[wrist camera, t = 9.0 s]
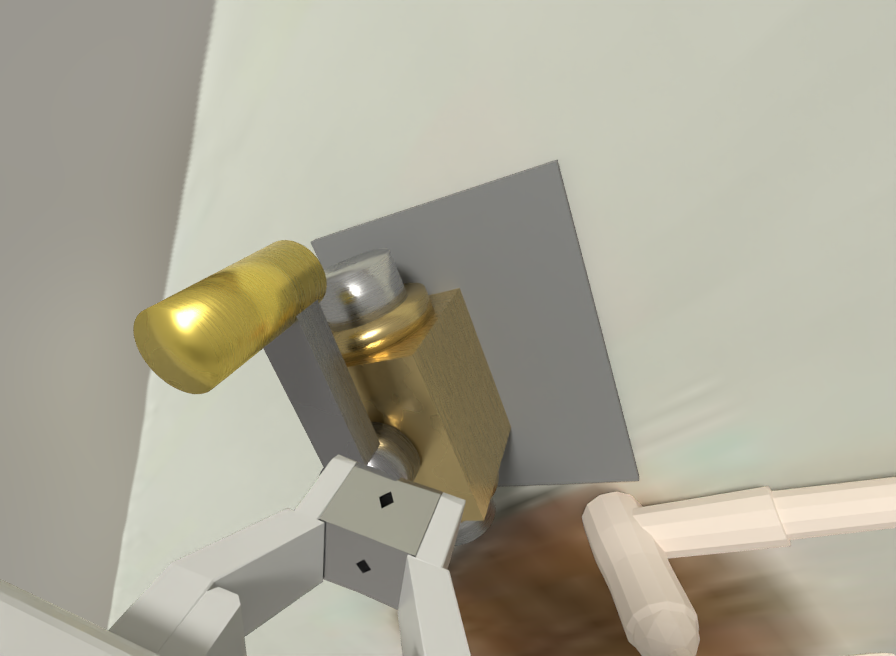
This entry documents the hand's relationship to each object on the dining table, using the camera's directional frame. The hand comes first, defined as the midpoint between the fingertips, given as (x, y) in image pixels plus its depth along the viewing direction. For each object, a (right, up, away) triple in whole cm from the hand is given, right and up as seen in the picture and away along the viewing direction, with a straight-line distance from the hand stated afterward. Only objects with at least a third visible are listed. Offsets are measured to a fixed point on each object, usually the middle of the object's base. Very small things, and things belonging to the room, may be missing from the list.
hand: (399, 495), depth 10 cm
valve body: (0, +2, +14) cm, 14 cm away
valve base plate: (+3, +2, +13) cm, 14 cm away
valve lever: (-3, +2, +7) cm, 8 cm away
